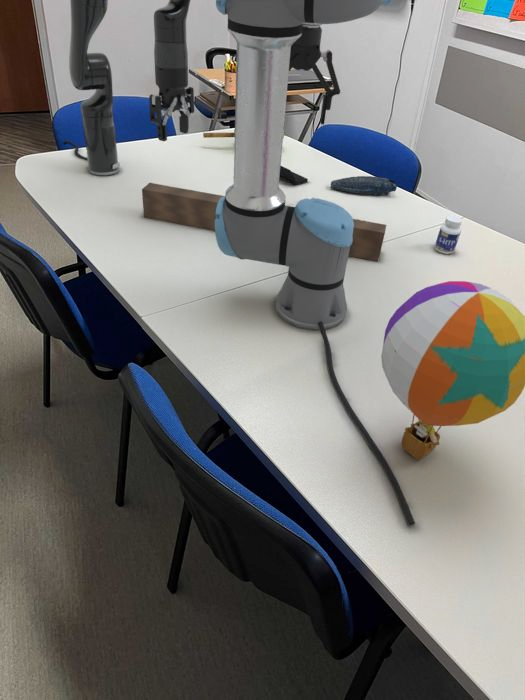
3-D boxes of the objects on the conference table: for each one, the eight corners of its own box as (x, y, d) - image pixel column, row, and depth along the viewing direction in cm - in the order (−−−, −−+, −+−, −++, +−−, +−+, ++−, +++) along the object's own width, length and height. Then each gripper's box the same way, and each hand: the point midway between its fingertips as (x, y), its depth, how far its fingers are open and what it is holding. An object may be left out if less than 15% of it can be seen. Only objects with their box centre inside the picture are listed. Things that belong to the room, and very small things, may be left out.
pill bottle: (433, 251, 139) (442, 220, 133) (435, 243, 143) (444, 213, 137) (453, 256, 138) (464, 225, 132) (454, 247, 142) (465, 217, 136)
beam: (379, 252, 136) (386, 224, 131) (378, 261, 133) (385, 232, 128) (151, 210, 146) (149, 182, 141) (143, 217, 142) (141, 189, 138)
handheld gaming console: (311, 174, 172) (301, 154, 164) (301, 192, 171) (290, 172, 163) (284, 170, 178) (272, 149, 170) (274, 187, 177) (262, 167, 169)
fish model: (395, 199, 165) (399, 183, 162) (329, 192, 166) (332, 176, 163) (393, 191, 171) (397, 176, 168) (330, 185, 172) (332, 169, 169)
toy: (330, 441, 84) (367, 281, 65) (404, 391, 94) (454, 241, 75) (431, 526, 73) (512, 363, 54) (502, 459, 83) (589, 303, 64)
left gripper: (177, 56, 125) (178, 127, 135) (137, 64, 115) (142, 139, 125) (202, 62, 122) (202, 133, 132) (164, 70, 112) (167, 146, 122)
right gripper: (356, 27, 125) (341, 120, 138) (252, 18, 123) (247, 113, 136) (361, 31, 119) (345, 128, 132) (253, 22, 117) (247, 121, 130)
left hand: (173, 136), depth 129 cm, fingers open, 8 cm apart
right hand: (295, 121), depth 134 cm, fingers open, 13 cm apart
